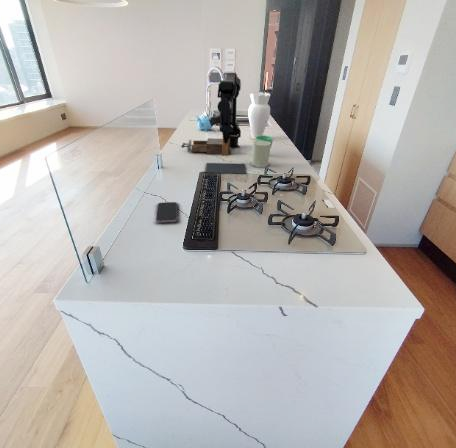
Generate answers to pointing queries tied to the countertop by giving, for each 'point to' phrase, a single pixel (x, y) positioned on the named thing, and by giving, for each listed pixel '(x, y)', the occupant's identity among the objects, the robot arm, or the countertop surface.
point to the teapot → (204, 123)
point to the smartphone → (166, 212)
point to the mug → (265, 139)
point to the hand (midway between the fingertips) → (225, 142)
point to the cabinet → (216, 146)
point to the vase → (258, 113)
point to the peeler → (224, 148)
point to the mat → (225, 168)
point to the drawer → (196, 146)
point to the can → (261, 153)
